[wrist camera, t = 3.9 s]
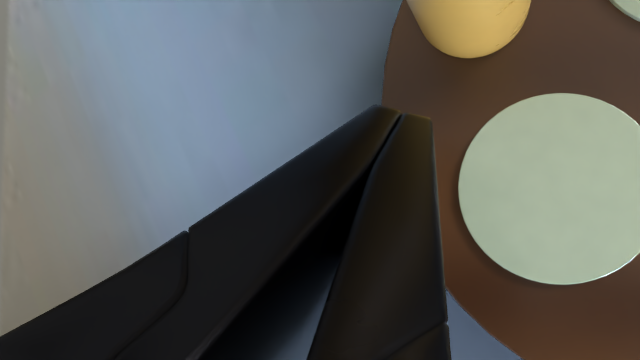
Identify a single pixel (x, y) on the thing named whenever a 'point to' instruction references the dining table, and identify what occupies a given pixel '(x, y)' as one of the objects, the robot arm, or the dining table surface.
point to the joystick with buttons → (532, 164)
